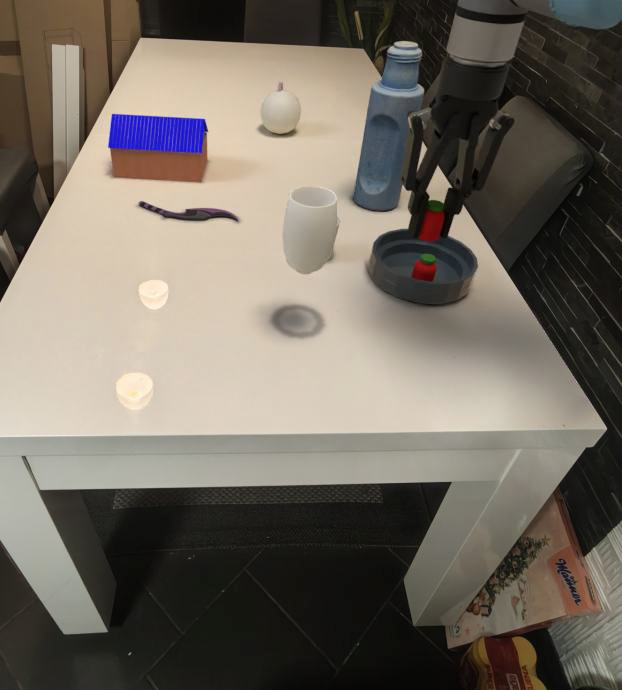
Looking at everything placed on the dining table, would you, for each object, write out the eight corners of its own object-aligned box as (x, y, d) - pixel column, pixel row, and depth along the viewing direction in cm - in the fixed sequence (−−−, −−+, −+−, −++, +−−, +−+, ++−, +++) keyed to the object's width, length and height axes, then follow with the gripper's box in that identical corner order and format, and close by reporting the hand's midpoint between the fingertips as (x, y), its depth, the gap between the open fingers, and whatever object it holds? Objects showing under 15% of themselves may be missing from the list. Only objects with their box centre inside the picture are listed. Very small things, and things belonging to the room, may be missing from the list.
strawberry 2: (436, 283, 92) (444, 258, 89) (423, 291, 90) (431, 266, 87) (418, 274, 94) (425, 249, 91) (405, 281, 92) (412, 256, 89)
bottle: (405, 198, 117) (443, 42, 97) (387, 216, 111) (423, 53, 91) (364, 186, 121) (392, 33, 101) (344, 203, 114) (370, 43, 94)
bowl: (489, 281, 94) (498, 259, 91) (429, 320, 86) (436, 297, 83) (408, 240, 104) (414, 219, 101) (347, 271, 95) (351, 248, 92)
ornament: (258, 124, 147) (260, 77, 139) (296, 125, 148) (300, 77, 140) (261, 139, 139) (263, 89, 131) (301, 139, 140) (306, 90, 132)
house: (202, 182, 120) (201, 129, 112) (112, 177, 120) (104, 123, 112) (209, 160, 129) (208, 109, 121) (124, 155, 129) (118, 104, 121)
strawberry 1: (444, 236, 80) (454, 204, 77) (429, 244, 78) (439, 212, 75) (423, 226, 82) (432, 195, 79) (409, 233, 80) (417, 202, 77)
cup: (293, 300, 88) (306, 178, 75) (330, 319, 85) (351, 195, 71) (265, 321, 84) (274, 196, 70) (304, 342, 81) (321, 215, 67)
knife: (139, 203, 111) (133, 216, 108) (139, 199, 111) (133, 212, 107) (240, 212, 110) (237, 225, 107) (240, 208, 110) (237, 222, 106)
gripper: (531, 50, 68) (473, 220, 83) (399, 48, 67) (365, 220, 82) (560, 68, 62) (492, 246, 78) (418, 65, 61) (377, 247, 77)
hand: (427, 233), depth 80 cm, fingers closed on strawberry 1, 4 cm apart
